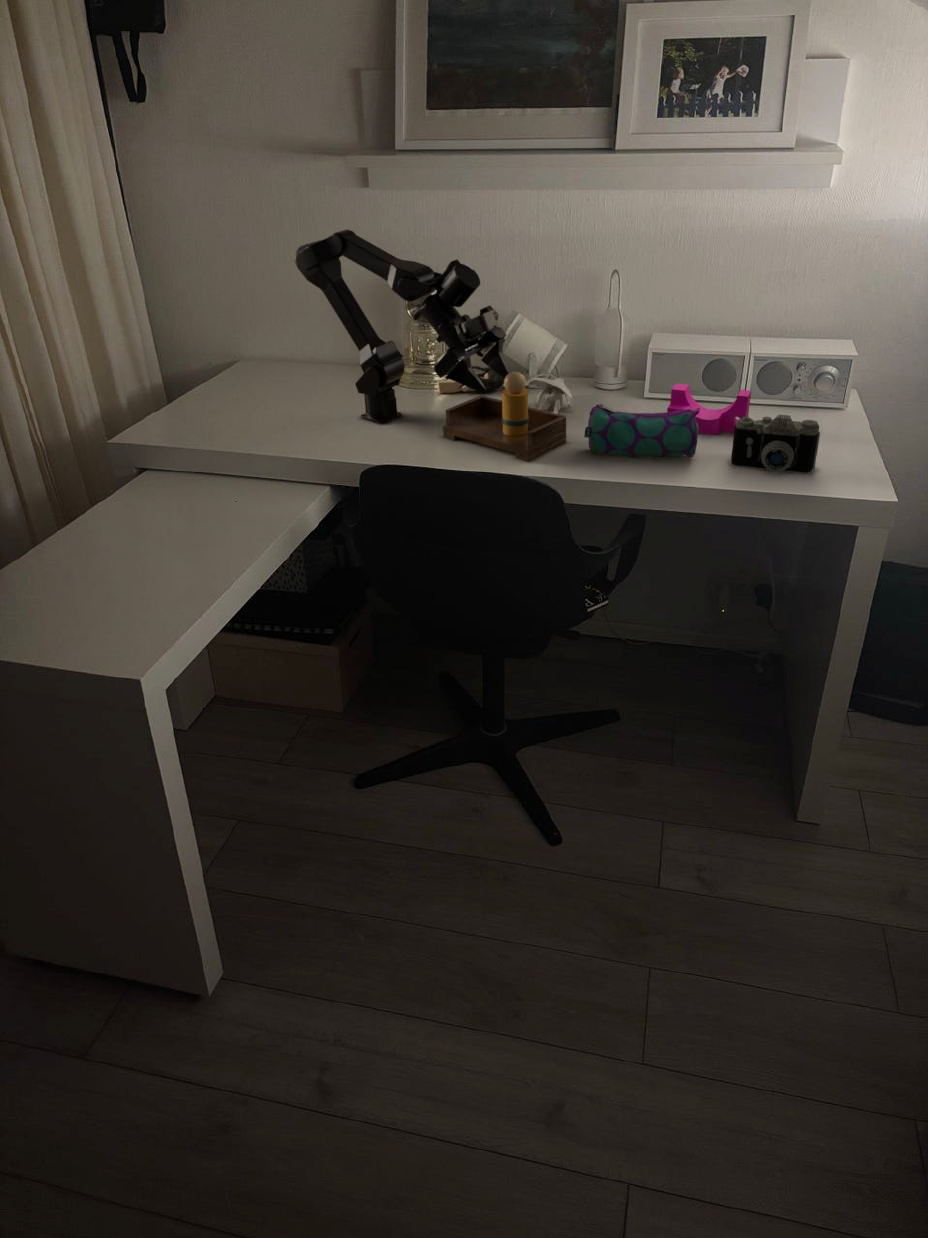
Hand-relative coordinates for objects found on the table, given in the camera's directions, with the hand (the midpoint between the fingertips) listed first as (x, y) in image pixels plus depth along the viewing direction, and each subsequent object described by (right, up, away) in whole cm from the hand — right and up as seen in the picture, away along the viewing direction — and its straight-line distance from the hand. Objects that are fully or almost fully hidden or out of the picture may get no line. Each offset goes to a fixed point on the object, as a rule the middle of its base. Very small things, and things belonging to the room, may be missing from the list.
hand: (497, 385), depth 189 cm
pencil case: (+27, -14, -3) cm, 31 cm away
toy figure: (-5, +6, +32) cm, 33 cm away
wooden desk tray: (+1, -10, +6) cm, 11 cm away
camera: (+50, -18, -12) cm, 54 cm away
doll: (+4, -8, +3) cm, 10 cm away
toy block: (+42, -7, +7) cm, 43 cm away
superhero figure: (+12, 0, +20) cm, 24 cm away
